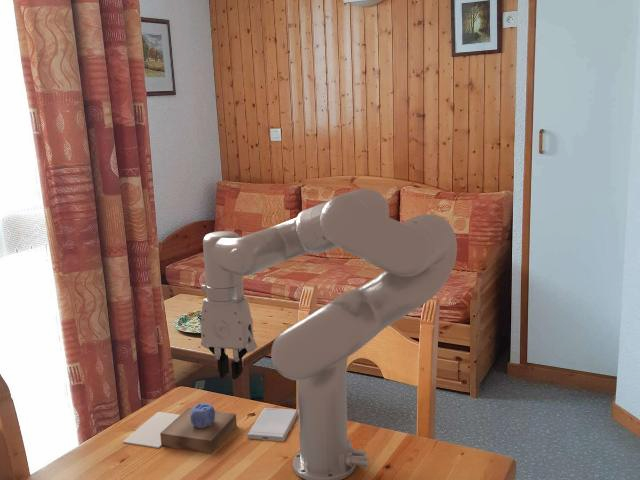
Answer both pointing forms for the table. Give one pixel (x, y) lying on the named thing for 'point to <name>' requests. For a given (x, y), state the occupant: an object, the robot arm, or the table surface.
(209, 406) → the decorative dice
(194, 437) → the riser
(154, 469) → the table surface
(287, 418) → the hard drive
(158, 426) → the mat
